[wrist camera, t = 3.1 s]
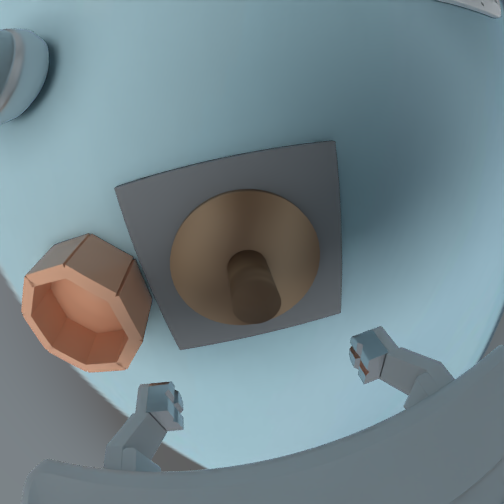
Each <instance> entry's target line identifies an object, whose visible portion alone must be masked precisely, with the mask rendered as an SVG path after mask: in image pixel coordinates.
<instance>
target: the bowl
mask: <svg viewBox="0 0 504 504" xmlns="http://www.w3.org/2000/svg"><path fill="white" fill-rule="evenodd" d="M132 259H133V256H131V255H129V254H127V253H125V252H123V251H122V250H120V249H118V248H116V247H114V246H113V245H111V244H109V243H107V242H105V241H104V240H102V239H100V238H98V237H97V236H95V235H93V234H91V235H90V234H85V235H82V236H79V237H76V238H73V239H70V240H67V241H64V242H61V243H58V244H55V245H54V246H53V247H52V248H51V249H50V250H49V251H48V252H47V253H46V254H45V255H44V256H43V257H42V258H41V259H40V260H39V261H38V262H37V263H36V264H35V265H34V267H33V268H32V269H31V270H30V271H29V272H28V273H27V274H26V276H25V278H24V286H23V297H22V313H23V314H22V315H23V316H24V318H25V320H26V321H27V323H28V324H29V326H30V327H31V329H32V330H33V332H34V333H35V335H36V336H37V338H38V339H39V340H40V342H41V343H42V345H43V346H44V347H45V349H46V350H49V352H50V353H52V354H53V355H55V356H57V357H59V358H61V359H63V360H64V361H66V362H68V363H70V364H72V365H74V366H76V367H78V368H80V369H82V370H84V371H86V372H87V371H88V372H105V371H119V370H126V369H128V367H129V365H130V363H131V361H132V360H133V358H134V356H135V354H136V353H137V351H138V349H139V347H140V346H141V344H142V342H143V338H144V333H145V329H146V324H147V320H148V316H149V312H150V307H151V303H152V297H151V295H150V293H149V291H148V288H147V286H146V284H145V281H144V279H143V277H142V274H141V272H140V269H139V267H138V265H137V262H136V260H135V259H134V260H132Z"/></svg>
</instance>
